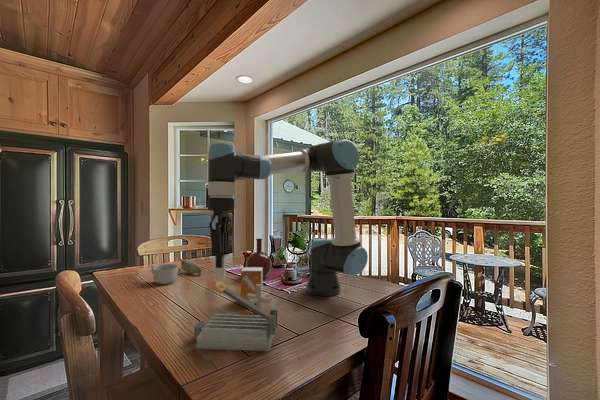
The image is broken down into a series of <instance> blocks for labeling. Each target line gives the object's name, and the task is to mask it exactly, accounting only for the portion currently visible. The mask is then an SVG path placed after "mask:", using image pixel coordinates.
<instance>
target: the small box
mask: <svg viewBox="0 0 600 400" xmlns="http://www.w3.org/2000/svg"><path fill="white" fill-rule="evenodd" d="M263 278H264V277H263V267H246V266H245V267H242V268H241V270H240V296H241V297H243V298H244V299H246V300H250V299H248V298H247V294H248V293H250V294H254V295H256V285H257V284H261V285H262V289H263V286H264V285H263V284H264V281H263ZM262 294H263V290H262V291H261V295H262ZM239 304H241V303H239ZM241 305H242V304H241ZM254 305H256V303H255V304H254Z"/></svg>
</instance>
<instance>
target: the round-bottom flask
mask: <svg viewBox="0 0 600 400" xmlns="http://www.w3.org/2000/svg"><path fill="white" fill-rule="evenodd" d="M255 240H256V251H255V252H253V253H251V254H250V255H249V256H248V257H247V260H246V263H245V267H263V278H264V277H266V276H267V275H268V274H269V273H270V272H271V270H272V268H273V267H272V265H273V262H272V259H271V258H270V256H269V255H268V254H267V253H265V252H264V251H262V249H263V247H262V246H263V245H262V243H263V238H256V239H255Z"/></svg>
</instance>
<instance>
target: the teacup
mask: <svg viewBox="0 0 600 400" xmlns="http://www.w3.org/2000/svg"><path fill="white" fill-rule="evenodd" d="M178 268H179V266H178V264H174V263H165V264H160V265H153V266H151V268H150V271H151V273H152V274H153V280H154V282H155V283H156V284H157V285H161V286H163V285H170V284H172V283H174V282H175V281H176V280H177V278H178Z"/></svg>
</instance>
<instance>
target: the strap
mask: <svg viewBox="0 0 600 400" xmlns="http://www.w3.org/2000/svg"><path fill="white" fill-rule="evenodd" d="M228 286H229V285H227V284H225V283H224V282H222V281H221V280H219V281H217V282H216V283H215V284H214V285H213V286H212V289H213V290H214V291H216V292H218V293H219V294H225V295H226V296H228V297H229V298H231V299H233V300H234V301H236V302H237V303H239V304H240V303H241V305H242V306H244V307H246V308H247V309H248V310H250V311H251V312H254V313H256V314H257V315H260V316H262V317H263V318H265V319H267V320H268V315H270V313H269V312H267V311H265V310H264V309H262V307H261V308H259V307H257V306H256V304H253V303H251V302H249V301H248V300H246V299H244V298H243V297H241V294H238V293H236V292H235V291H233V290H231V289H230V288H228Z"/></svg>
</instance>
